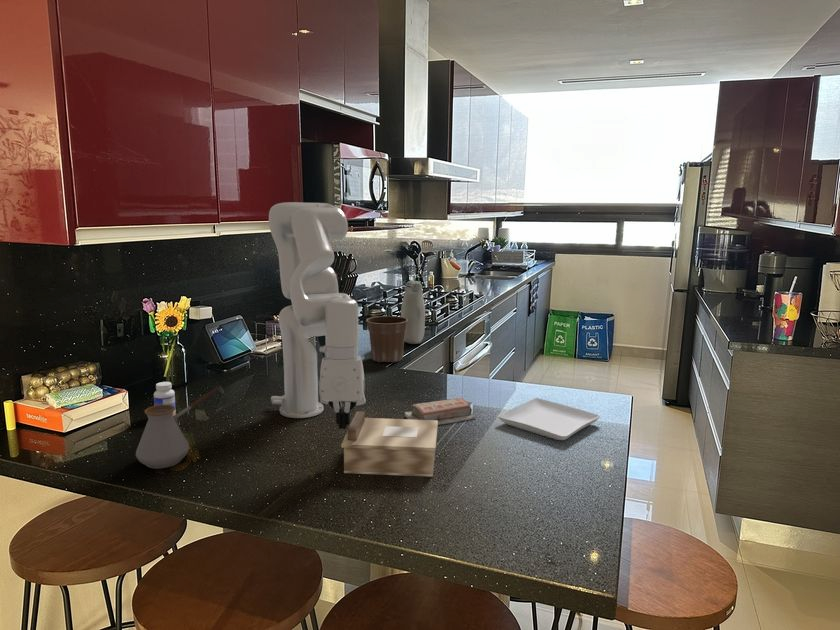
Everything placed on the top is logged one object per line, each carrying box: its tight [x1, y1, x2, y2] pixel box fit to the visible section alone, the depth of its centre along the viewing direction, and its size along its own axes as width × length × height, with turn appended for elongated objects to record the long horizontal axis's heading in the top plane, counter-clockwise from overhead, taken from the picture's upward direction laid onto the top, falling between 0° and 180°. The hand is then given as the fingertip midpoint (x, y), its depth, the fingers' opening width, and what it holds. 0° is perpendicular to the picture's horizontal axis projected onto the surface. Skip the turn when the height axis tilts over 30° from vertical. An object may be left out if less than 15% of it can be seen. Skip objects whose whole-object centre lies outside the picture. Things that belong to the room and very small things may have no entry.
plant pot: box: [365, 315, 408, 363], centre depth 224 cm, size 16×16×16 cm
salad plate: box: [497, 397, 601, 441], centre depth 159 cm, size 21×21×3 cm
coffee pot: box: [135, 386, 225, 469], centre depth 136 cm, size 21×12×15 cm, turn 137°
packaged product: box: [404, 397, 476, 426], centre depth 163 cm, size 18×5×10 cm
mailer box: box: [343, 448, 436, 477], centre depth 136 cm, size 20×16×6 cm
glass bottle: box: [400, 280, 426, 345], centre depth 249 cm, size 10×10×28 cm
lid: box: [340, 410, 439, 452], centre depth 135 cm, size 21×17×3 cm
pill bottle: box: [153, 381, 177, 416], centre depth 161 cm, size 5×5×10 cm
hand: (343, 426), depth 135 cm, fingers closed
